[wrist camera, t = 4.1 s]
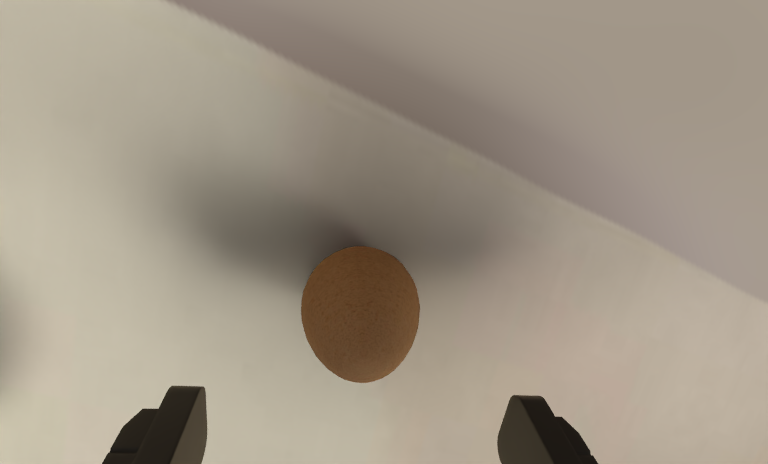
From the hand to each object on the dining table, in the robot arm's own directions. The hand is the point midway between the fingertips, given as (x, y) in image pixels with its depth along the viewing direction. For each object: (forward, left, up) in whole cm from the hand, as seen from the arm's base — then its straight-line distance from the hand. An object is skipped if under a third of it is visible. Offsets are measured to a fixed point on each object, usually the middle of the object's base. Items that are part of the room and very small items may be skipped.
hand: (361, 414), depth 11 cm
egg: (0, 0, -8) cm, 8 cm away
